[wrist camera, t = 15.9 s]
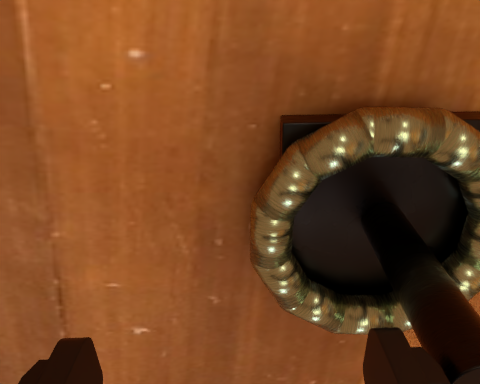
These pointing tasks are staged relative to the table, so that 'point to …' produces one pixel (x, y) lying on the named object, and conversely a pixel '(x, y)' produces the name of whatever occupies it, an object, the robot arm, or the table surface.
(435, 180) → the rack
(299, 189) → the ring
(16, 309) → the table surface
